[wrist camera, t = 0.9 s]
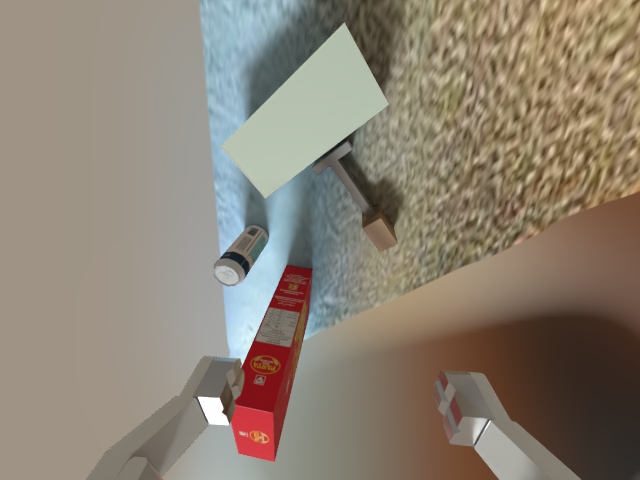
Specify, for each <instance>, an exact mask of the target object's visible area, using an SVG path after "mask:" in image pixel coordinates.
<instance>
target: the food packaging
mask: <svg viewBox="0 0 640 480" xmlns="http://www.w3.org/2000/svg"><path fill="white" fill-rule="evenodd" d="M312 271H313V270H312V269H306V268H300V267H294V266H288V265H286V268H285V270H284V272H283V274H282V277H281V279H280V281H279V284H278V286H277V288H276V290H275V293H274V295H273V297H272V300H271V302H270V304H269V306H268V309H267V311H266V313H265V316H264V318H263V320H262V322H261V325H260V327H259V329H258V332H257V334H256V336H255V338H254V341H253V343H252V345H251V348H250V350H249V352H248V354H247V357H246V359H245V361H244V364H243V366H242V368H241V369H242V370H244V384H243V389H242V392H241V395H240V396H239V397H238V398H237V399H235V404H236V408H235V411H234V414H233V417H232V419H231V424H232V429H233V433H234V437H235V441H236V445H237V450H238V453H239V454H243V455H247V456H252V457H256V458H260V459H265V460H269V461H275V457H276V453H277V449H278V445H279V440H280V436H281V432H282V428H283V424H284V419H285V415H286V411H287V406H288V402H289V398H290V394H291V389H292V385H293V380H294V377H295V372H296V368H297V363H298V359H299V355H300V351H301V346H302V342H303V338H304V334H305V330H306V325H307V321H308V313H309V302H310V292H311V281H312Z"/></svg>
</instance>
